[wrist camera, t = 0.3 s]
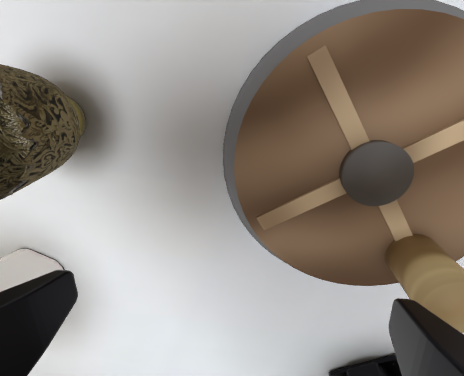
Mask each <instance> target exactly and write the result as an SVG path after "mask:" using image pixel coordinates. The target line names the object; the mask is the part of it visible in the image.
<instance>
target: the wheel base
mask: <svg viewBox="0 0 464 376" xmlns="http://www.w3.org/2000/svg"><path fill="white" fill-rule="evenodd" d="M394 9H424V10H430V11H436V12H442V13H447V14H450V15H453V16H456V17H459V18H462V19H464V11H463V10H461V9H459V8H457V7H454V6H451V5H448V4H445V3H442V2H439V1H436V0H360V1H356V2H352V3H349V4H345V5H342V6H339V7H336V8H334V9H332V10H329V11H327V12H325V13H322V14H320V15H318V16H316V17H314V18H312V19H311V20H309V21H307V22H306V23H304V24H302V25H301V26H299V27H297V28H296V29H295V30H293V31H292V32H291V33H289V34H288V35H287V36H285V37H284V38H283V39H282V40H280V41H279V42H278V43H277V44H276V45H275V46H274V47H273V48H272V49H271V50H270V51H269V52H268V53H267V54H266V55H265V56H264V57H263V58H262V59H261V61H260V62H259V63H258V64H257V66H256V67H255V68H254V70H253V71H252V72H251V73H250V75H249V77H248V78H247V80H246V82H245V83H244V85H243V87H242V88H241V90H240V92H239V94H238V96H237V98H236V101H235V103H234V105H233V107H232V110H231V113H230V117H229V120H228V123H227V127H226V133H225V139H224V149H223V165H224V176H225V181H226V185H227V189H228V193H229V196H230V199H231V201H232V204H233V207H234V209H235V211H236V212H237V214H238V216H239V218H240V220H241V222H242V223H243V224H244V226H245V227H246V229H247V230H248V231H249V233H250V234H251V235H252V236H253V237H254V238H255V239H256V240H257V241H258V242H259V243H260V245H262V246H263V247H264V248H265V249H266V250H268V251H269V252H270V253H271V254H273V255H274V256H276V255H275V254H274V253H273V252H272V251H270V250H269V249H268V248H267V247H266V245H265V244H264V243H263V242H262V241H261V240H260V239H259V238H258V236H257V235H256V233H255V232H254V231H253V229H252V228H251V226H250V224H249V222H248V221H247V219H246V217H245V215H244V213H243V210H242V207H241V204H240V202H239V199H238V194H237V190H236V185H235V175H234V158H235V148H236V142H237V137H238V133H239V130H240V127H241V124H242V120H243V117H244V115H245V113H246V111H247V109H248V107H249V105H250V102H251V100H252V99H253V97H254V95H255V94H256V92H257V91H258V89H259V88H260V86H261V84H262V83H263V82H264V80H265V79H266V78H267V77H268V76H269V74H270V73H271V72H272V71H273V70H274V68H275V67H276V66H277V65H278V64H279V63H280V62H281V61H282V60H283V59H285V58H286V57H287V56H288V55H289V54H290V53H291V52H292V51H293V50H295V49H296V48H297V47H299V46H300V45H301V44H303V43H304V42H305V41H307V40H308V39H310V38H311V37H313V36H315V35H317V34H318V33H320V32H322V31H324V30H325V29H327V28H329V27H331V26H334V25H336V24H338V23H341V22H343V21H346V20H348V19H351V18H354V17H358V16H361V15H365V14H369V13H373V12H378V11H386V10H394ZM276 257H277V258H279V257H278V256H276ZM279 259H280V258H279ZM280 260H281V259H280ZM282 261H283V260H282ZM285 263H286V262H285Z"/></svg>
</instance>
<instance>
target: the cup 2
mask: <svg viewBox="0 0 464 376" xmlns="http://www.w3.org/2000/svg"><path fill="white" fill-rule="evenodd" d="M85 126H86V121H85V116H84V113H83V111H82V109H81V108H80V106H79V105H78V104H77V103H76V102H75V101H74V100H73V99H71V98H69V97H68V96H66V95H65V94H64V93H63V92H62V91H61V90H60V89H59V88H58V87H56V86H55V85H54V84H52V83H51V82H49V81H48V80H46V79H44V78H42V77H40V76H38V75H35V74H33V73H30V72H27V71H24V70H21V69H17V68H13V67H9V66H5V65H1V64H0V200H1V199H3V198H5V197H7V196H9V195H12V194H13V193H15V192H17V191H18V190H20V189H22V188H24V187H26V186H28V185H30V184H31V183H33V182H35V181H37V180H39V179H40V178H42V177H44V176H46V175H48V174H49V173H51V172H52V171H54V170H56V169H57V168H59V167H60V166H61V165H63V164H64V163H65V162H66V161H67V160H68V159H69V158H70V157H71V156H72V154H73V153H74V151H75V150H76V148H77V145H78V142H79V138H80V137H81V136H82V134H83V133H84V130H85Z"/></svg>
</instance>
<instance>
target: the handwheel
mask: <svg viewBox="0 0 464 376" xmlns="http://www.w3.org/2000/svg"><path fill="white" fill-rule="evenodd" d="M234 175H235V185H236V190H237V194H238V199H239V202H240V204H241V207H242V210H243V213H244V215H245V217H246V219H247V221H248V222H249V224H250V226H251V228H252V229H253V231H254V232H255V233H256V235H257V236H258V238H259V239H260V240H261V241H262V242H263V243H264V244H265V245H266V247H267V248H268V249H269V250H270V251H272V252H273V253H274V254H275V255H276V256H278V257H279V258H280V259H281V260H283V261H284V262H286V263H287V264H289V265H290V266H292V267H293V268H295V269H297V270H300V271H302V272H304V273H306V274H308V275H311V276H313V277H316V278H319V279H322V280H326V281H330V282H334V283H339V284H347V285H359V286H374V285H387V284H393V283H400V285H401V286H402V288H403V289H404V291H405V292H406V294H407V295H408V297H409V298H410V300H414V301H416V302H418V303H419V304H420V305H422V306H423V307H425V308H426V309H428V310H429V311H431V312H432V313H433V314H435V315H436V316H438V317H439V318H441V319H442V320H444V321H445V322H446V323H448V324H449V325H451V326H452V327H454V328H455V329H457V330H458V331H459V332H461V333H464V269H463V268H462V267H461V266H460V265H459V264H458V263H456V261H457V260H459V259H460V258H462V257H463V256H464V19H462V18H459V17H456V16H453V15H450V14H447V13H442V12H436V11H430V10H424V9H394V10H386V11H378V12H373V13H369V14H365V15H361V16H358V17H354V18H351V19H348V20H346V21H343V22H341V23H338V24H336V25H334V26H331V27H329V28H327V29H325V30H324V31H322V32H320V33H318V34H317V35H315V36H313V37H311V38H310V39H308V40H307V41H305V42H304V43H303V44H301V45H300V46H299V47H297V48H296V49H295V50H293V51H292V52H291V53H290V54H289V55H288V56H287V57H286V58H285V59H283V60H282V61H281V62H280V63H279V64H278V65H277V66H276V67H275V68H274V70H273V71H272V72H271V73H270V74H269V76H268V77H267V78H266V79H265V80H264V82H263V83H262V84H261V86H260V88H259V89H258V91H257V92H256V94H255V95H254V97H253V99H252V100H251V102H250V105H249V107H248V109H247V111H246V113H245V115H244V117H243V120H242V124H241V127H240V130H239V133H238V137H237V142H236V148H235V158H234Z"/></svg>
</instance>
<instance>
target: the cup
mask: <svg viewBox="0 0 464 376" xmlns="http://www.w3.org/2000/svg"><path fill="white" fill-rule="evenodd" d="M55 270H63V268H62V267H61V266H60V265H59V264H58V263H57V262H56V261H55V260H53V259H51V258H48V257H46V256H44V255H41V254H39V253H36V252H34V251H32V250H29V249H19V250H17V251H15V252H13V253H11V254H9V255H7V256H5V257H3V258H0V292H1V291H4V290H6V289H9V288H11V287H14V286H17V285H19V284H22V283H24V282H27V281H29V280H32V279H35V278H37V277H40V276H42V275H45V274H47V273H50V272H52V271H55Z"/></svg>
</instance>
